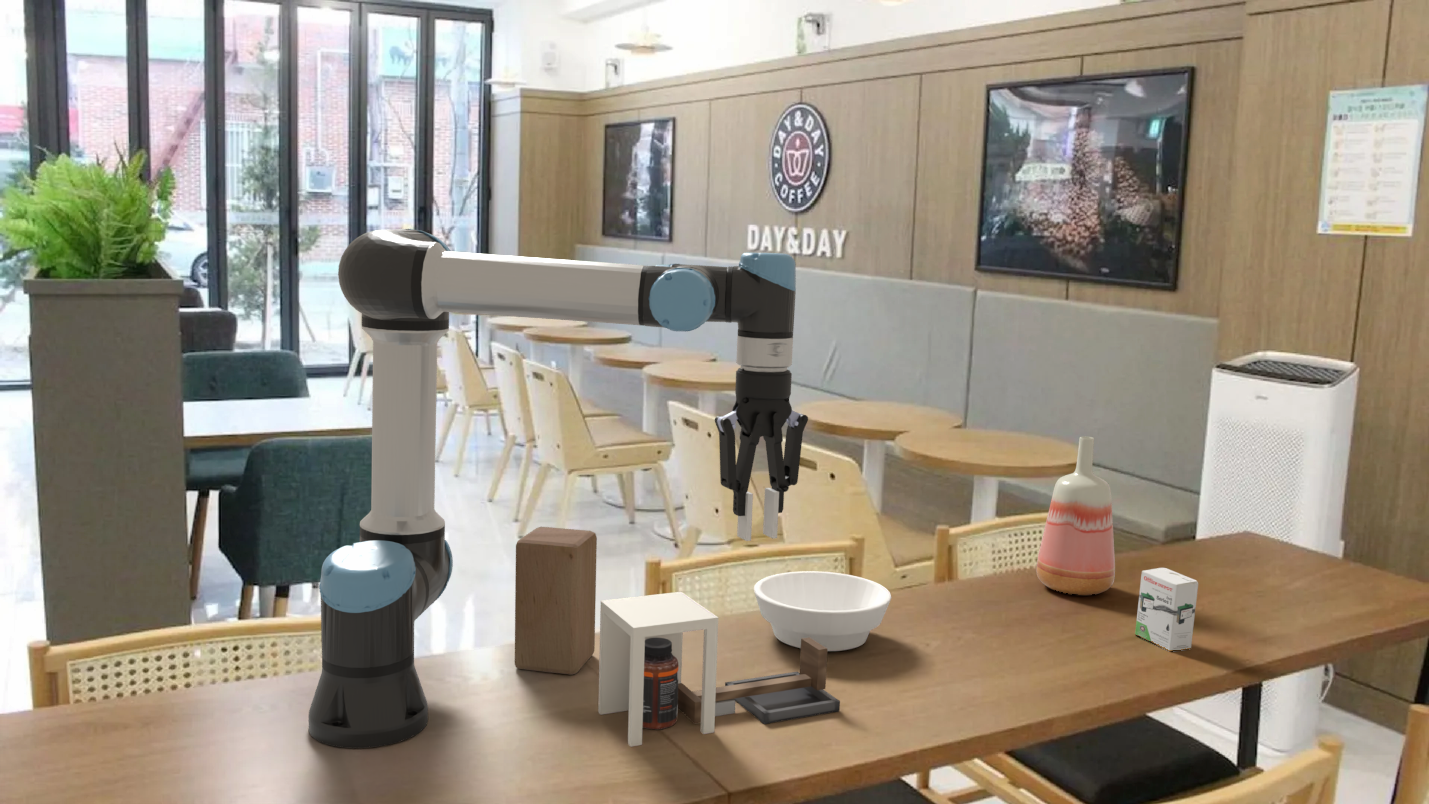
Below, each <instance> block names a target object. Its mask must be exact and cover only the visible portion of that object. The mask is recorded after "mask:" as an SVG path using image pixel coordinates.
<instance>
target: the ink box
mask: <svg viewBox="0 0 1429 804" xmlns="http://www.w3.org/2000/svg"><path fill="white" fill-rule="evenodd" d="M1139 584H1140V585H1139V596H1138V604H1137V612H1136V613H1137V614H1136V623H1135V631H1134V635H1135V634H1136V635H1139V636H1141V637H1143V638H1145V639H1147V640H1149V641H1153V642H1154V643H1156V644H1159V645H1160V646H1162V647H1165V648H1166V649H1168V650H1181V649H1185V648H1186V649H1187V648H1191V649H1192V642H1193V633H1194V624H1195V615H1196V608H1197V607H1196V606H1197V601H1198V600H1197V599H1198V589H1199V582H1198V580H1196V579H1194V578H1192V577H1189V576H1186V575H1184V574H1182V573H1179V572H1177V571H1174V570H1172V569H1169V568H1166V567H1158V568H1151V569H1145V570H1142V571H1141V575H1140V583H1139ZM1181 651H1182V650H1181Z"/></svg>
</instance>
